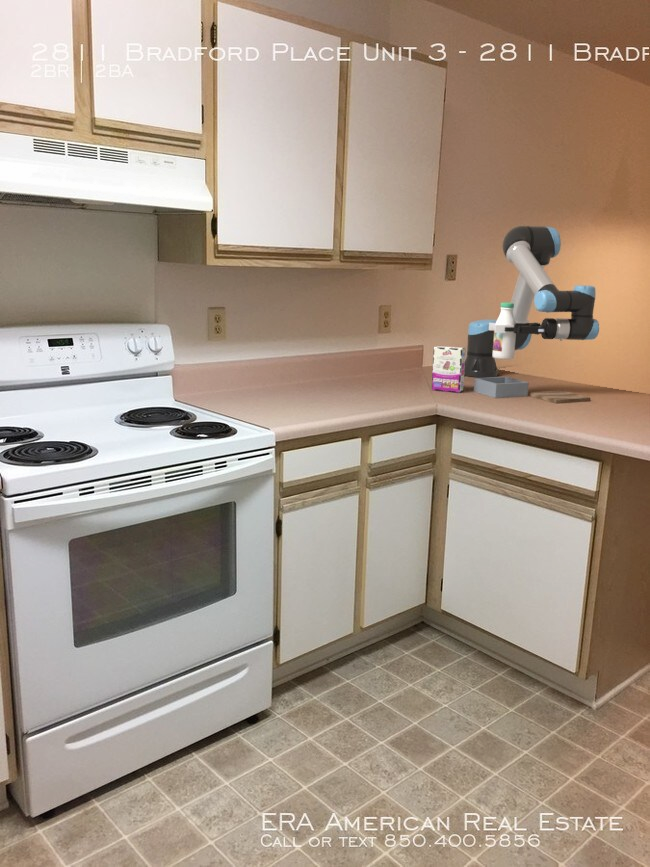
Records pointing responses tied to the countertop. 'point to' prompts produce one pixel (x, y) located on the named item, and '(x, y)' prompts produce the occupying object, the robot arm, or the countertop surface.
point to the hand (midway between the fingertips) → (492, 327)
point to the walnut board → (559, 396)
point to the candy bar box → (448, 369)
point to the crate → (501, 387)
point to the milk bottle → (504, 334)
